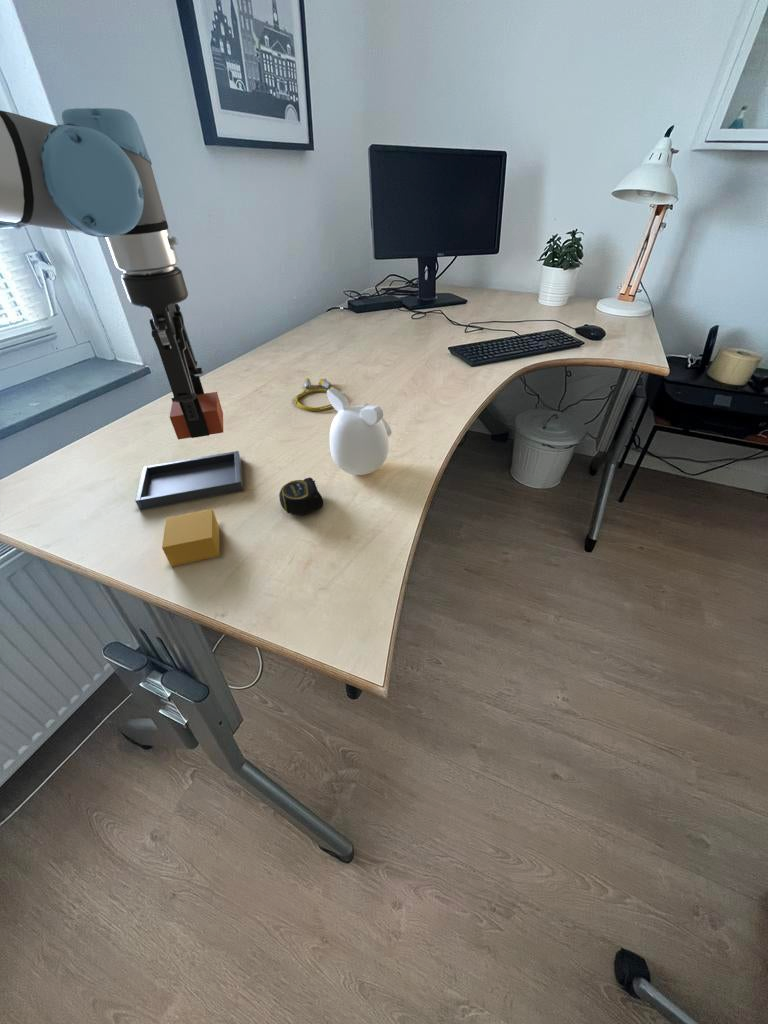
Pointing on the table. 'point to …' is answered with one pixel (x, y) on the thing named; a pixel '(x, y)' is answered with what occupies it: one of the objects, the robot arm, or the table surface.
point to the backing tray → (189, 480)
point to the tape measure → (300, 497)
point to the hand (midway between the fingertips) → (201, 424)
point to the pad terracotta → (210, 412)
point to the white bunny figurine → (357, 436)
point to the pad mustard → (191, 537)
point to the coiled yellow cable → (307, 386)
